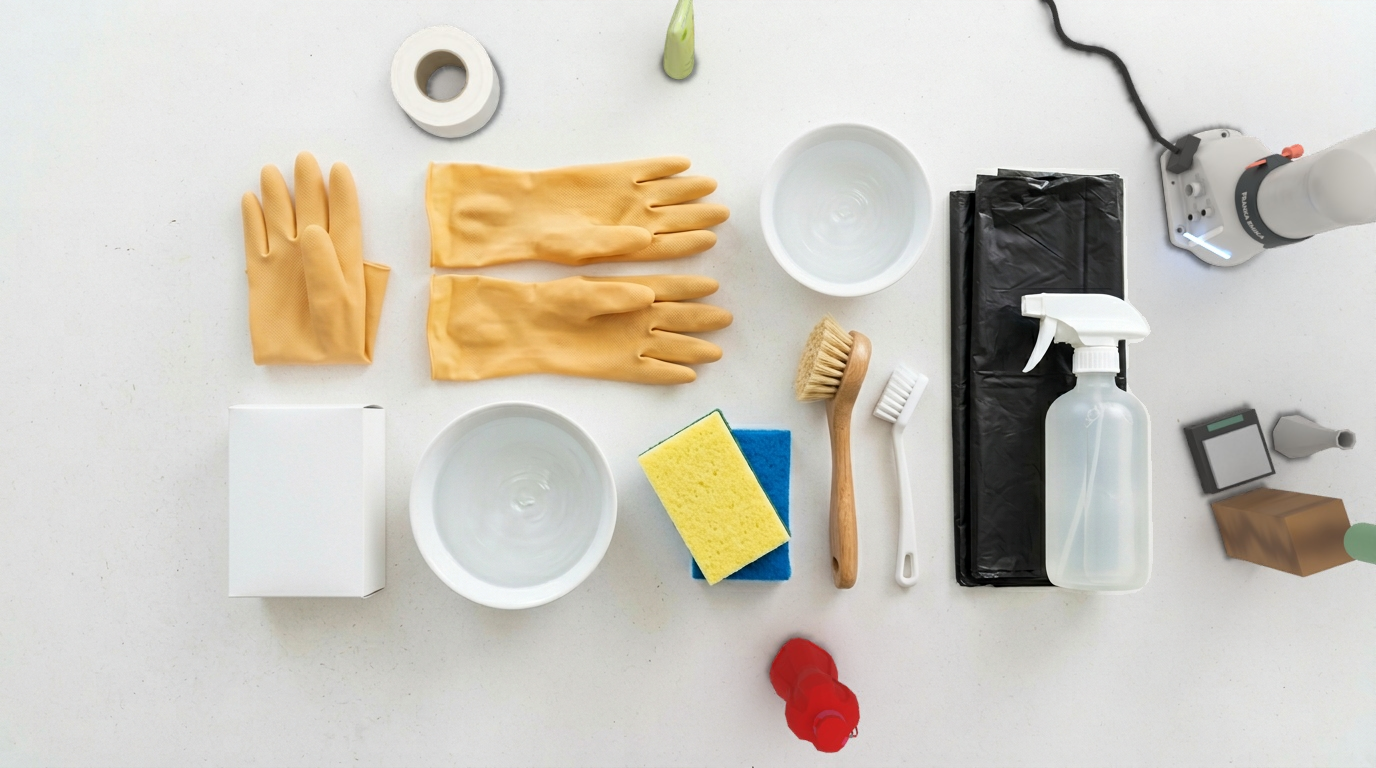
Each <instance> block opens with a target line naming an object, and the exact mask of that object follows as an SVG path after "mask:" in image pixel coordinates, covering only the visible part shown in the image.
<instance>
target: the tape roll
mask: <svg viewBox="0 0 1376 768" xmlns="http://www.w3.org/2000/svg"><path fill="white" fill-rule="evenodd" d="M392 58H393V59H392V62H391V65H390V72H389V79H390V80H389V81H390V86H391V90H392V94H393V96H394V98H395V100H396V102H397V103H398V105H399V106H400V107H401V109H402V110H403V111H404V112H405V113H406V114H407V115H408V117H409V118H410V119H411V120H412V121H413V122H414V124H416V125H417V127H419V128H421V129H422V130H423V131H425V132H427V133H429V134H431V135H433V136H436V137H439V138H440V137H441V138H446V139H447V138H449V139H453V138H461V137H466V136H468V135H471V134H473V133H475V132H476V131H479V130H480V129H482V128H483V127H484V126H485V125H486V124H487V123H488V122H489V121H490V119H492V117H493V115H494V113H495V112H496V110H497V108H498V105H499V100H500V97H501V95H500V94H501V88H500V87H501V85H500V79H499V76H498V73H497V71H496V68H495V66H494V64H493V62H492V60H491V58H490V55H489V54H488V52H487V51H486V49H485V47H484V46H483V45H482V44H481V43H480V41H479V40H477V38H475V37H474V36H473V35H472V34H470V33H468V32H467V31H465V30H463V29H460V28H458V27H455V26H452V25H448V24H441V25H440V24H439V25H434V26H429V27H424V28H422V29H420V30H418V31H416V32H414V33H412V34H411V35H410V36H408V37H406V38H405V40H404V41H403V42H402V43H401V44H400V45H399V47H398V48H397V50H396V51H395V53H394V55H393V57H392ZM445 66H454V67H459V68H461V69H462V70H464V71H465V75H466V79H465V84H464V86H463V88H462V90H461V91H460V92H459V93H458V94H457V95H455V96H454V97H452V98H450V99H446V100H438V99H434V98H431V97H429V96H428V91H427V87H428V82H429V79H430V78H431V75H432V74H433V73H434V72H435V71H437V70H439V69H440V68H442V67H445Z"/></svg>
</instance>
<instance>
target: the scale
mask: <svg viewBox="0 0 1376 768" xmlns="http://www.w3.org/2000/svg"><path fill="white" fill-rule="evenodd" d="M1183 431H1184V435H1185V437H1186V441H1187V444H1188V447H1189V450H1190V454H1191V456H1192V459H1193V462H1194V463H1193V464H1194V465H1195V468H1196V471H1197V475H1198V478H1199V482H1200V484H1201V487H1202V490H1203V493H1204V494H1209V495H1216V494H1218V493H1221V492H1224V491H1227V490H1230V489H1233V488H1237V487H1239V486H1242V485H1243V486H1244V485H1245V484H1249V483H1251V482H1254V481H1257V480H1260V479H1265V478H1267V477H1270V476H1273V475H1276V474H1277V472H1276V469H1275V466H1274V462H1273V460H1272V456H1271V454H1270V451H1269V447H1268V444H1267V442H1266V439H1265V436H1264V432H1263V429H1262V426H1261V423H1260V420H1259V417H1258V414H1257V411H1256V408H1243V409H1240V410H1238V411H1237V410H1236V411H1234V412H1230V413H1227V414H1225V415H1222V416H1219V417H1215V418H1212V419H1209V420H1206V421H1202V422H1201V423H1197V424H1194V425H1191V426H1188V427H1185V428H1183Z"/></svg>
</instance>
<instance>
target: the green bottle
mask: <svg viewBox="0 0 1376 768" xmlns="http://www.w3.org/2000/svg"><path fill="white" fill-rule="evenodd" d="M1344 547H1345V550H1346V552H1347V553H1348V554H1349V555H1350V556H1351V557H1352V558H1354V559H1356V560H1355V561H1358V562H1363V563H1367V564H1371V565H1375V566H1376V524H1374V523H1369V522H1356V523H1354V524H1351V527H1350V528H1349V529H1348V530H1347V532H1346V534H1345V536H1344Z"/></svg>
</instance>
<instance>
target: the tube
mask: <svg viewBox="0 0 1376 768" xmlns="http://www.w3.org/2000/svg"><path fill="white" fill-rule="evenodd" d="M694 15H695V14H694V3H693V0H678V1H677V2H676V5H675V8H674V10H673V13H672V16H671V18H670V21H669V23H668V27H667V31H666V34H665V40H664V47H663V60H662V61H663V63H662V64H663V65H662V66H663V69H664V72H665V74H666V75H667V76H669V77H670V78H672V79H674V80H683V79H685V78H687V77H689V76H690V75H691V74H692V72H693V70H694V67H695V66H694V64H695V17H694Z"/></svg>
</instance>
